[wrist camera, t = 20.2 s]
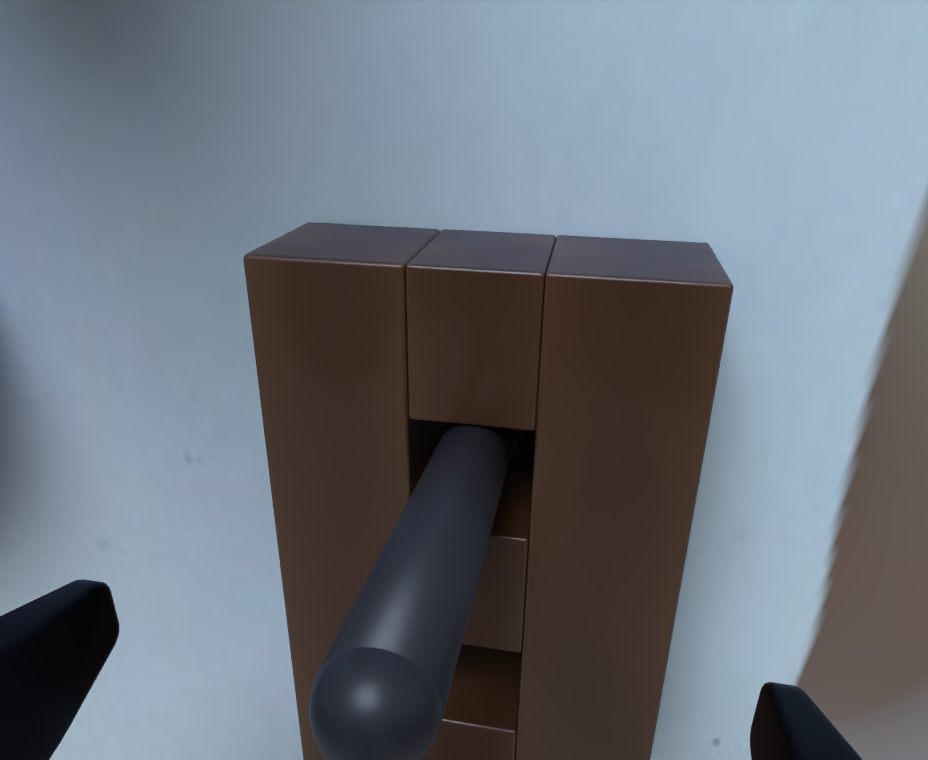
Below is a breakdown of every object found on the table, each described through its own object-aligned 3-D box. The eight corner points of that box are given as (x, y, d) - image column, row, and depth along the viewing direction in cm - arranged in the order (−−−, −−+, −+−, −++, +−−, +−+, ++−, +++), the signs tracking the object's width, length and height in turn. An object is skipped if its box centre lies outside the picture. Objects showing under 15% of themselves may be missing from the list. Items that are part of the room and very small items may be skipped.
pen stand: (343, 687, 21) (304, 779, 18) (306, 221, 15) (240, 254, 12) (632, 734, 19) (636, 842, 17) (709, 242, 14) (735, 284, 11)
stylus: (493, 445, 16) (364, 835, 7) (450, 405, 16) (259, 746, 7) (534, 407, 16) (458, 768, 6) (491, 364, 16) (347, 671, 6)
